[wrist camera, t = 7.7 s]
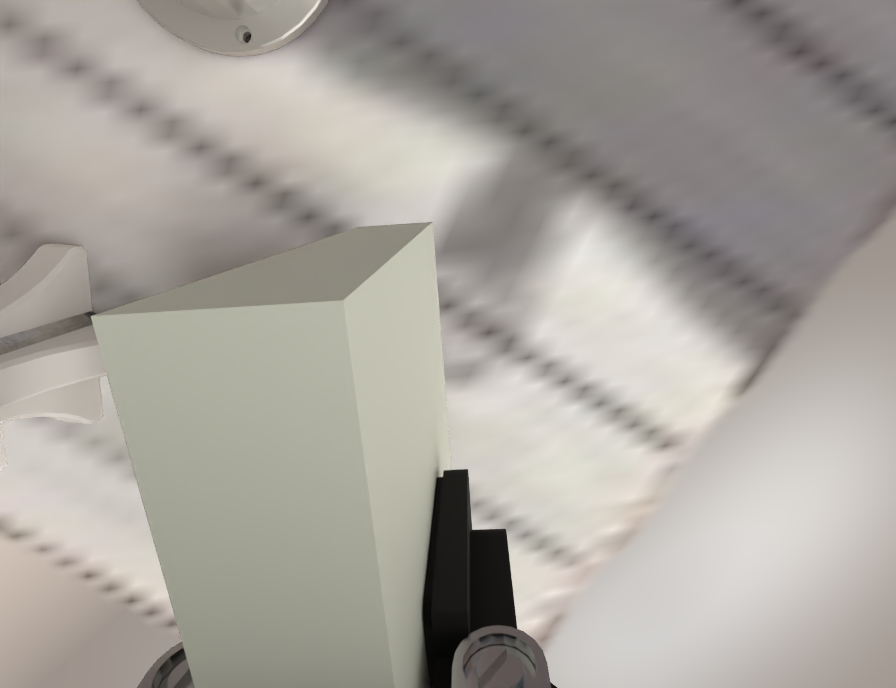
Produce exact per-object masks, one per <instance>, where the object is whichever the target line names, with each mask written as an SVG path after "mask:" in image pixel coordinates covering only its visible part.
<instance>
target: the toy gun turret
mask: <svg viewBox="0 0 896 688" xmlns="http://www.w3.org/2000/svg"><path fill="white" fill-rule="evenodd" d="M93 315H96V314H95V313H94V312H93V311H92V301H91V292H90V282H89V272H88V262H87V252H86V250H85V249H84V248H83V247H82V246H75V245H66V244H56V243H52V244H44V245H42V246H41V247H39V248H38V249H37V251H36V252H35V253H34V254H33V255H32V257H31V258H30V259H29V260H28V261H27V262H26V263H25V264H24V265H23V266H22V267H21V268H20V269H19V270H18V271H17V272H16V273H15V274H14V275H13V276H12V277H11V278H10V279H8V280H7V281H6V282H4V283H3V284H2V285H0V471H1V470H2V469H3V468H4V467H5V466H6V465H7V464H8V463H7V457H6V450H5V444H4V438H3V432H2V426H1V423H4V422H7V421H10V420H13V419H20V418H31V417H51V418H54V419H57V420H60V421H66V422H75V423H85V424H90V423H94V422H95V421H97V420H99V419H100V418H101V417H103V409H102V399H101V390H100V380H99V377H101V376H105V375H107V373H106V370H105V366H104V363H103V359H102V355H101V352H100V348H99V345H98V341H97V338H96V334H95V331H94V327H93V323H92V320H91V316H93Z"/></svg>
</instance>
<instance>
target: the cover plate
mask: <svg viewBox="0 0 896 688" xmlns="http://www.w3.org/2000/svg"><path fill="white" fill-rule="evenodd" d="M91 320H92V323H93V327H94V331H95V334H96V338H97V341H98V345H99V348H100V352H101V355H102V359H103V363H104V366H105V370H106V373H107V377H108V380H109V384H110V388H111V391H112V395H113V398H114V402H115V405H116V409H117V412H118V416H119V420H120V423H121V427H122V430H123V434H124V437H125V441H126V444H127V448H128V452H129V455H130V459H131V462H132V466H133V469H134V473H135V476H136V480H137V484H138V487H139V491H140V494H141V498H142V501H143V505H144V509H145V512H146V516H147V519H148V523H149V526H150V530H151V533H152V537H153V541H154V544H155V548H156V551H157V555H158V558H159V562H160V565H161V569H162V573H163V576H164V580H165V583H166V587H167V590H168V594H169V597H170V601H171V605H172V608H173V612H174V615H175V619H176V622H177V626H178V630H179V633H180V637H181V640H182V644H183V647H184V651H185V654H186V658H187V662H188V665H189V669H190V672H191V676H192V679H193V683H194V686H195V688H430V684H429V674H428V665H427V656H426V646H425V637H424V626H423V599H424V589H425V580H426V571H427V562H428V553H429V544H430V534H431V525H432V516H433V507H434V498H435V489H436V480H437V477H443V471H444V470H452V467H451V454H450V442H449V429H448V416H447V403H446V390H445V377H444V364H443V351H442V338H441V326H440V313H439V300H438V287H437V274H436V261H435V248H434V235H433V222H426V223H412V224H398V225H383V226H369V227H357V228H354V229H351V230H348V231H345V232H342V233H339V234H336V235H333V236H330V237H327V238H324V239H321V240H318V241H315V242H312V243H309V244H306V245H303V246H300V247H297V248H294V249H291V250H288V251H285V252H282V253H279V254H276V255H273V256H270V257H267V258H264V259H261V260H258V261H255V262H252V263H249V264H246V265H243V266H240V267H237V268H234V269H231V270H228V271H225V272H222V273H219V274H216V275H213V276H210V277H207V278H204V279H201V280H198V281H195V282H192V283H189V284H186V285H183V286H180V287H177V288H174V289H171V290H168V291H165V292H162V293H159V294H156V295H153V296H150V297H147V298H144V299H141V300H138V301H135V302H132V303H129V304H126V305H123V306H120V307H117V308H114V309H111V310H108V311H105V312H102V313H99V314H96V315H93V316H91Z"/></svg>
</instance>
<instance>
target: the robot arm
mask: <svg viewBox="0 0 896 688" xmlns="http://www.w3.org/2000/svg"><path fill="white" fill-rule="evenodd" d="M137 1H138V3H139V4H140V5H141V6H142V7H143V8H144V9H145V10H146V11H147V12H148V13H149V14H150V15H151V16H152V17H153V18H154V19H155V20H156V21H157V22H158V23H159V24H160V25H162V26H163V27H164V28H166V29H167V30H169V31H170V32H172V33H173V34H174V35H176V36H177V37H179V38H181V39H183V40H184V41H186V42H188V43H190V44H192V45H194V46H196V47H199V48H201V49H204V50H207V51H210V52H213V53H216V54H222V55H230V56H237V57H238V56H250V55H260V54H263V53H266V52H269V51H272V50H275V49H279V48H280V47H282V46H284V45H285V44H287V43H289V42H291V41H292V40H294V39H296V38H297V37H298V36H300V35H301V34H302V33H303V32H304V31H305V30H306V29H307V28H308V27H309V26H311V25H312V24H313V23H314V21H315V20H316V19H317V17H318V16H319V15H320V13H321V12H322V10H323V9H324V8H325V6H326V5H327V3H328V1H329V0H137ZM248 35H251V39H250V41H249V42H248V43H247V41H246V38H247V36H248ZM423 626H424V637H425V646H426V656H427V665H428V674H429V684H430V688H557V687H556V686H554V685H553V684H552V683H551V682H550V678H549V672H548V666H547V662H546V659H545V656H544V653H543V650H542V649H541V648H540V646H539V645H538V644H537V642H536V641H535V640H534V639H533V638H532V637H530V636H529V635H527V634H526V633H525V632H523V631H521V630H518V629H517V624H516V615H515V606H514V597H513V588H512V579H511V570H510V561H509V552H508V543H507V534H506V529H489V530H472V522H471V507H470V492H469V477H468V469H464V470H444V471H443V477H437V480H436V489H435V498H434V507H433V516H432V525H431V534H430V544H429V553H428V562H427V571H426V580H425V589H424V599H423ZM137 688H195V686H194V683H193V679H192V676H191V672H190V669H189V665H188V662H187V658H186V654H185V651H184V647H183V644H182V642H181V643H179V644H177V645H175V646H174V647H172V648H170V649H169V650H168V651H167V652H166V653H164V654H163V655H162V656H161V657H160V658H159V659H158V660H157V661H156V662H155V663H154V664H153V666H152V667H151V668H150V669H149V670H148V672H147V673H146V675H145V676H144V678H143V679H142V681H141V682H140V684H139V685H138V687H137Z"/></svg>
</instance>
